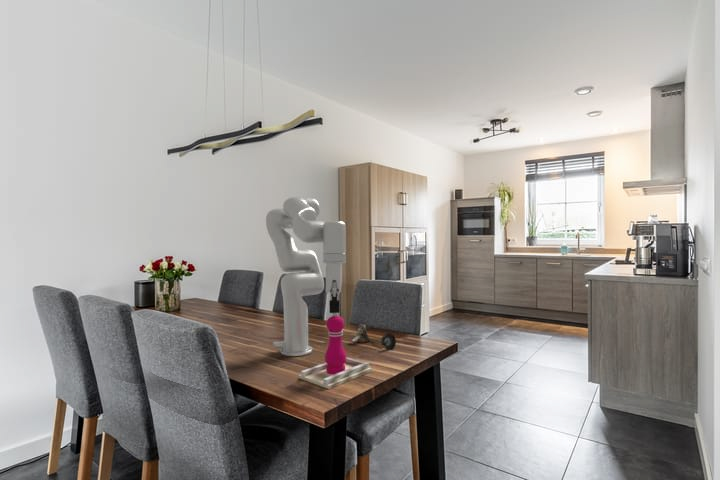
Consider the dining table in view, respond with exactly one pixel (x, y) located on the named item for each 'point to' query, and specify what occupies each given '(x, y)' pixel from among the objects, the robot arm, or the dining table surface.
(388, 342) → the artificial flower
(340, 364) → the pepper mill
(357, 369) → the rail board
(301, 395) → the dining table surface
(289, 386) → the dining table surface
